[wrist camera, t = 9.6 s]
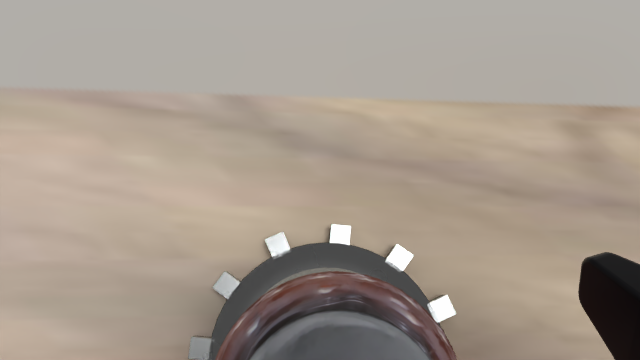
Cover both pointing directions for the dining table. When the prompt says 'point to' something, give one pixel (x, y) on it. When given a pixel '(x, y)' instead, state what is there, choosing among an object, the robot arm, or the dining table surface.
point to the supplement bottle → (336, 323)
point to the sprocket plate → (307, 262)
